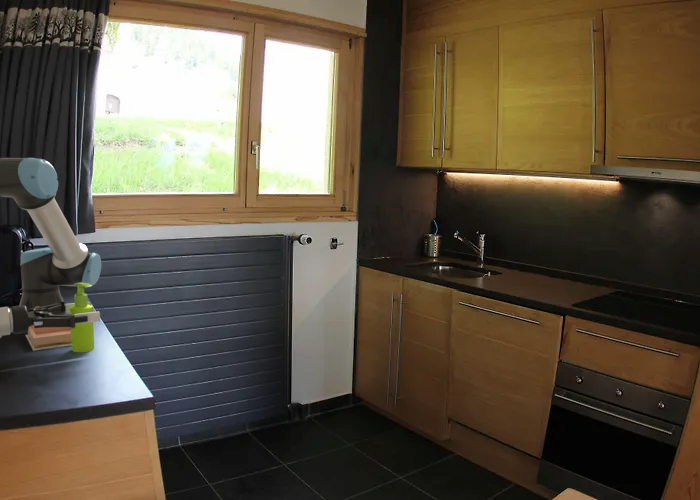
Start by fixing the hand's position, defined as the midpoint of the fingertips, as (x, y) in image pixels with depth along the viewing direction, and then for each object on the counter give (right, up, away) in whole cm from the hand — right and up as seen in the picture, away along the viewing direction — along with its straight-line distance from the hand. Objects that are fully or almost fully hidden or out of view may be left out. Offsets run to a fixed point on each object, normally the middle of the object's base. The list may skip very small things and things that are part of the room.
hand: (94, 311), depth 180 cm
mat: (-15, -10, +9) cm, 21 cm away
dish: (-15, -9, +9) cm, 20 cm away
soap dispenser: (-3, -12, 0) cm, 12 cm away
